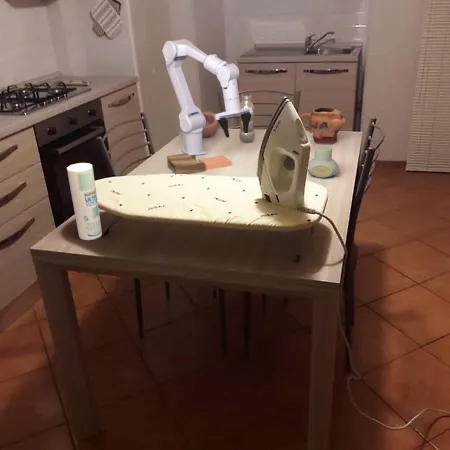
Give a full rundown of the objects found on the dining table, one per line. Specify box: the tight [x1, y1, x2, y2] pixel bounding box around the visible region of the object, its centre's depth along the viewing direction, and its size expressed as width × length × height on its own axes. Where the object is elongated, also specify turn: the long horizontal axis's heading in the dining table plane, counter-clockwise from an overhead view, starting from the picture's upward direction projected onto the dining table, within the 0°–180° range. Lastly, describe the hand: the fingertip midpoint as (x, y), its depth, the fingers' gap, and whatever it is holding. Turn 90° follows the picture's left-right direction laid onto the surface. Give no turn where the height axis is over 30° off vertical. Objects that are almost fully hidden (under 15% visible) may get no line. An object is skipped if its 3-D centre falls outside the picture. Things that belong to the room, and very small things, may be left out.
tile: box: [198, 154, 232, 171], centre depth 192 cm, size 8×10×2 cm
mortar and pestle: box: [201, 111, 220, 138], centre depth 226 cm, size 12×12×11 cm
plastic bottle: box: [238, 93, 256, 143], centre depth 215 cm, size 6×7×20 cm
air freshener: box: [307, 145, 339, 179], centre depth 176 cm, size 11×8×10 cm
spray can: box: [66, 162, 103, 241], centre depth 136 cm, size 6×6×20 cm
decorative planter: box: [299, 107, 347, 145], centre depth 213 cm, size 20×12×14 cm, turn 78°
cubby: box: [166, 153, 206, 175], centre depth 188 cm, size 11×11×4 cm
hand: (236, 135), depth 190 cm, fingers open, 7 cm apart
